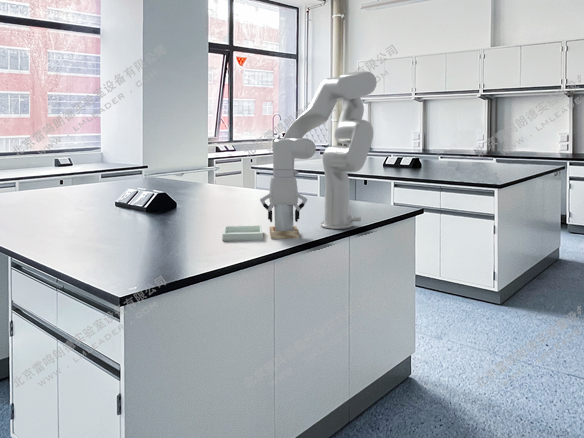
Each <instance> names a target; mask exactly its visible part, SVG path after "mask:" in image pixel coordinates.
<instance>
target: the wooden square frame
mask: <svg viewBox="0 0 584 438" xmlns="http://www.w3.org/2000/svg"><path fill="white" fill-rule="evenodd" d="M269 236H270V239H271V240H273V239H274V240H276V239H278V240H279V239H286V240H287V239H299V238H300V231H299V228H298V226H297V225H293V231H275V225H273V226H272V225H271V226H269Z"/></svg>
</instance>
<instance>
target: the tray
mask: <svg viewBox="0 0 584 438" xmlns="http://www.w3.org/2000/svg"><path fill="white" fill-rule="evenodd" d="M243 241H244V242H246V241H250V242H251V241H264V235H263V227H262V225H224V226H223V230H222V242H243Z"/></svg>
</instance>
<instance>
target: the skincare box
mask: <svg viewBox="0 0 584 438" xmlns="http://www.w3.org/2000/svg"><path fill="white" fill-rule="evenodd" d="M273 208H274V209H273V211H274V226H275V231H293V226H294V205H291V206H288V205H286V204H279V205H277V206H274V207H273Z"/></svg>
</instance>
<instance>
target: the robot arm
mask: <svg viewBox="0 0 584 438" xmlns="http://www.w3.org/2000/svg"><path fill="white" fill-rule="evenodd" d="M376 87H377V78H376V76H375V74H374V73H372V72H371V71H366V70H365V71H358V72H357V71H354V72H347V73H343V74H341V75H339V76H337V77H336V76H335V77H333V76H332V77H327V78H325V79H323V80H322V82H320V85H319V86H318V88H317V90H316V91H315V94H314V96H313V97H312V100H311V102H310V103H309V106H308V107H307V109H306V110H305V111H304V112H303V113H302V114H300V115H299V116H298V117H297V119H295V120H294V121H293V122H292V123H291V124H290V125H289V127H288V128H287V130H286V131H285V134H284V136H283V138H277V139H275V140H274V141H273V143H272V160H273V161H272V164H273V165H272V170H273V171H272V176H271V177H270V182H269V193H267V194H265V196H262V197H261V198H260V199H259V201H260V203H261V205H262V206H263V207H264V209H266V211H267V219H268V220H269V222H270V223H273V210H272V209H273V208H274V206H277V205H279V204H286V205H288V206H291V205H293V208H295V209H294V221H295V222H296V223H298V221H299V220H300V211H301V210H302V209H303V208H304V207H305V205H306V203H307V202H308V198H307V197H305V196H303V195H302V194H300V193H299V192H298V190H299V189H298V182H297V177H295V175H299V170H296V169H295V159H297V160H298V159H299V160H308V159H311V158H312V157H313V156H314V155H315V153H316V150H317V148H316V147H317V146H316V144H315V142H314V141H313V140H312V139H309V138H305V136H306V134H307V133H309V132H311V131H312V130H314V129H316V128H318V127H320V126H322V125H324V124H325V123H326V122H327V121H328V120H329V118H330V116H331V114H332V112H333V110H334V108H335V106H336V104H337V102H339V101H342V108H341V112H340V115H339V118H338V121H337V124H336V127H335V130H334V138H335V141H336V143H339V144H343V145H332V146H329V147H327V148H326V149H325V150H324V152H323V154H322V164H323V171H324V221H321V222H320V227H321V228H325V229H331V230H333V229H334V230H335V229H336V230H341V229H343V230H344V229H345V230H346V229H350V228H351V227H353V222H357V223H358V222H361V221H362V218H361V216H356V215H355V216H354V215H350V211H349V209H350V179H349V175H348V173H357V172H359V171H360V170H361V169H363V167H364V166H365V163H366V160H367V157H368V155H369V152H370V149H371V145H372V143H373V138H374V127H373V125H372V123H371V122H370V121H368V120H365V119H363V116H364V113H365V106H364V103H363V100H362V97H364V96H365V97H366V96H368V95H371V94H372V93H374V91H375V90H376ZM346 145H347V146H346ZM299 199H300V200H301V202H300V204H299V205H298V203H299ZM266 200H268V201H269V203H270V204H269V205H268V204H267V202H265V201H266Z"/></svg>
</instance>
